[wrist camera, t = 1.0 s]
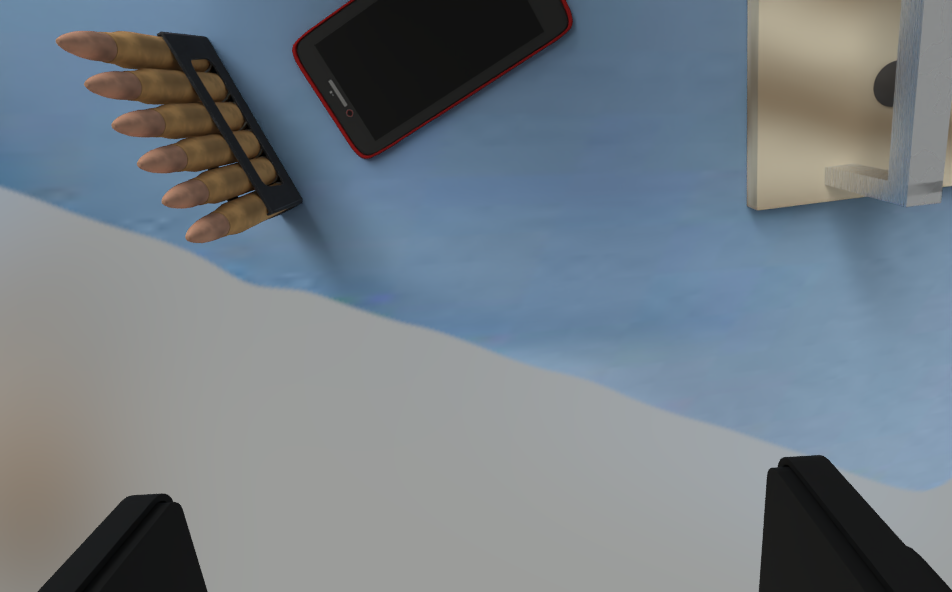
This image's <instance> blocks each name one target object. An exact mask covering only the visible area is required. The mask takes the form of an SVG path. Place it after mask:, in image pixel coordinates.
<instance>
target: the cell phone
mask: <svg viewBox="0 0 952 592" xmlns="http://www.w3.org/2000/svg"><path fill="white" fill-rule="evenodd" d="M563 6H564V7H563ZM572 24H573V19H572V14H571V11H570V9H569V6H568V4H567V2H566V0H350V1H349V2H347V3H346V4H345V5H343V6H342V7H340V8H339V9H338V10H336V11H335V12H333V13H332V14H331V15H329V16H328V17H326V18H325V19H324V20H322V21H321V22H319V23H318V24H317V25H315V26H314V27H312V28H311V29H310V30H308V31H307V32H306V33H305V34H303V35H302V36H301V37H300V38H299V39H298V40H297V41H296V42H295V43H294V45H293V48H292V52H293V56H294V59H295V61H296V63H297V65H298V66H299V68H300V70H301V71H302V73H303V74H304V76H305V77H306V79H307V81H308V82H309V84H310V85H311V87H312V88H313V90H314V91H315V93H316V94H317V96H318V97H319V99H320V101H321V102H322V104H323V105H324V107H325V108H326V110H327V111H328V113H329V114H330V116H331V117H332V119H333V120H334V122H335V124H336V125H337V127H338V128H339V130H340V131H341V133H342V134H343V136H344V137H345V139H346V140H347V142H348V144H349V145H350V146H351V148H352V149H353V150H354V152H355V153H356V154H357V155H358V156H360V157H361V158H364V159H368V158H372V157H374V156H376V155H378V154H380V153H382V152H384V151H385V150H387V149H389V148H390V147H392V146H393V145H395V144H397V143H398V142H399V141H401V140H402V139H404V138H405V137H407V136H409V135H410V134H412V133H413V132H415V131H416V130H418V129H419V128H421V127H423V126H424V125H426V124H427V123H429V122H430V121H432V120H434V119H435V118H437V117H439V116H441V115H442V114H444V113H445V112H447V111H448V110H450V109H451V108H453V107H454V106H456V105H458V104H459V103H461V102H462V101H464V100H465V99H467V98H468V97H470V96H472V95H473V94H475V93H476V92H478V91H479V90H481V89H482V88H484V87H485V86H487V85H489V84H490V83H492V82H493V81H495V80H496V79H498V78H499V77H501V76H502V75H504V74H506V73H507V72H509V71H510V70H512V69H513V68H515V67H516V66H518V65H519V64H521V63H523V62H524V61H526V60H527V59H529V58H530V57H532V56H533V55H535V54H537V53H538V52H540V51H541V50H543V49H544V48H546V47H547V46H549V45H550V44H552V43H554V42H555V41H557V40H558V39H559V38H561V37H562V36H563V35H564V34H566V33H567V32H568V31H569V30H570V28H571V27H572ZM309 33H310V34H309ZM305 36H306V37H305ZM304 37H305V38H304Z"/></svg>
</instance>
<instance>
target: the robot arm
mask: <svg viewBox="0 0 952 592" xmlns="http://www.w3.org/2000/svg"><path fill="white" fill-rule="evenodd" d="M765 499H766V500H765V513H764V528H763V541H762V556H761V570H760V584H759V592H952V590H951V589H950V588H949V587H948V585H947V584H946V583H945V582H944V581H943V580H942V579H941V578H940V577H939V576H938V574H937V573H936V572H935V571H934V570H933V569H932V568H931V567H930V566H929V565H928V563H927V562H926V561H925V560H924V559H923V558H922V557H921V556H920V555H919V554H918V553H917V552H915V551H914V550H913V549H912V548H910V547H908V546H906V545H905V544H904V543H903V542H902V541H901V540H900V539H899V538H898V536H897V535H896V534H895V533H894V532H893V531H892V530H891V529H890V528H889V526H888V525H887V524H886V523H885V522H884V521H883V520H882V519H881V518H880V517H879V515H878V514H877V513H876V512H875V511H874V510H873V509H872V508H871V506H870V505H869V504H868V503H867V502H866V501H865V500H864V499H863V498H862V496H861V495H860V494H859V493H858V492H857V491H856V490H855V489H854V488H853V486H852V485H851V484H850V483H849V482H848V481H847V480H846V479H845V478H844V476H843V475H842V474H841V473H840V472H839V471H838V470H837V469H836V467H835V466H834V465H833V464H832V463H831V462H830V461H829V460H828V459H827V458H826V457H824V456H821V455H814V456H797V457H784V458H782V459H780V461H779V463H778V467H777V468H770V469H769V471H768V474H767V485H766V498H765ZM38 592H207V589H206V585H205V582H204V579H203V575H202V572H201V569H200V565H199V562H198V559H197V555H196V552H195V549H194V546H193V542H192V539H191V535H190V532H189V529H188V526H187V522H186V519H185V516H184V512H183V509H182V507H181V505H180V504H179V503H176V502H173V500H172V498H171V497H170V496H168V495H167V494H147V495H132V496H128V497H126V498H125V499H124V500H122V501H121V502H120V503H119V505H118V506H117V507H116V508H115V509H114V510H113V511H112V512H111V513H110V514H109V515H108V516H107V517H106V519H105V520H104V521H103V522H102V523H101V524H100V525H99V526H98V527H97V528H96V529H95V530H94V531H93V533H92V534H91V535H90V536H89V537H88V538H87V539H86V540H85V541H84V542H83V543H82V544H81V546H80V547H79V548H78V549H77V550H76V551H75V552H74V553H73V554H72V555H71V556H70V557H69V559H67V561H66V562H65V563H64V564H63V565H62V566H61V567H60V568H59V569H58V570H57V572H55V574H54V575H53V576H52V577H51V578H50V579H49V580H48V581H47V582H46V583H45V584H44V585H43V587H41V589H40V590H39V591H38Z"/></svg>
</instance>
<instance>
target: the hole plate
mask: <svg viewBox="0 0 952 592" xmlns="http://www.w3.org/2000/svg"><path fill="white" fill-rule="evenodd" d="M900 14H901V0H748V34H747V206H748V207H750V208H753V209H755V210H765V209H772V208H780V207H788V206H796V205H804V204H812V203H820V202H828V201H836V200H844V199H852V198H860V197H868V196H864V195H860V194H857V193H853V192H849V191H846V190H842V189H838V188H835V187H831V186H827V185H825V167H830V166H838V165H845V164H858V165H863V166H869V167H874V168H879V169H884V170H889V158H890V144H891V131H892V118H893V105H894V92H895V79H896V66H897V53H898V40H899V27H900ZM947 186H952V101H951V111H950V120H949V130H948V139H947V149H946V159H945V168H944V178H943V187H947Z"/></svg>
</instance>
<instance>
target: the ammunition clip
mask: <svg viewBox="0 0 952 592" xmlns="http://www.w3.org/2000/svg"><path fill="white" fill-rule="evenodd" d="M56 43H57V44H58V45H59V46H60V47H61V48H62V49H64V50H65V51H67V52H69V53H71V54H74V55H76V56H79V57H81V58H85V59H89V60H94V61H102V62H105V63H111V64H115V65H118V66H120V67H123V68H128V69H138V70H135V71H123V72H120V71H112V72H104V73H100V74H97V75H94V76H92V77H90V78H88V79H87V80H86V81H85V83H84V85H85V87H86V88H87V89H88V90H90V91H91V92H93V93H96V94H98V95H101V96H103V97H107V98H112V99H119V100H131V101H139V102H142V103H145V104H164V105H161V106H159V107H156V108H150V109H146V110H137V111H133V112H129V113H126V114H124V115H121V116H120V117H118V118H116V119H115V120H114V121H113V123H112V128H113V129H114V130H116V131H117V132H119V133H122V134H125V135H128V136H133V137H164V138H168V139H180V138H185V139H182V140H180V141H178V142H177V143H174V144H170V145H167V146H163V147H159V148H156V149H154V150H151V151H149V152H147V153H146V154H144V155H143V156H142V157H141V158H140V159H139V160H138V162H137V166H138V167H139V168H140V169H142V170H145V171H148V172H152V173H172V172H181V171H191V172H197V171H201V170H206V169H208V171H205V172H202V173H201V174H200V175H198V176H197V177H195V178H193V179H190V180H188V181H186V182H183V183H180V184H178V185H176V186H174V187H173V188H171V189H170V190H169V191H168V192H167V193H166V194H165V195H164V196H163V198H162V204H163V205H165V206H167V207H170V208H190V207H194V206H197V205H203V204H207V203H213V204H215V203H219V202H222V201H225V200H227V201H228V202H226V203H224V204H222V205H221V206H220V207H218V208H217V209H216V210H215V211H213V212H211V213H210V214H208V215H206V216H204V217H202V218H201V219H199V220H198V221H196V222H195V223H194V224H193V225H192V226H191V227H190V228H189V229H188V231H187V233H186V240H187V241H189V242H193V243H205V242H210V241H213V240H216V239H219V238H221V237H225V236H227V235H233V234H238V233H241V232H243V231H245V230H247V229H249V228H251V227H253V226H255V225H257V224H259V223H261V222H263V221H265V220H267V219H270V218H273V217H275V216H278V215H280V214H282V213H284V212H286V211H288V210H290V209H292V208H294V207H296V206H297V205H299V204H301V203H302V197H301V196H300V194H299V192H298V191H297V189H296V187H295V186H294V184H293V182H292V180H291V179H290V177H289V175H288V174H287V172H286V170H285V169H284V167H283V165H282V164H281V162H280V160H279V158H278V157H277V155H276V153H275V152H274V150H273V148H272V147H271V145H270V143H269V141H268V140H267V138H266V136H265V135H264V133H263V131H262V130H261V128H260V126H259V124H258V123H257V121H256V119H255V118H254V116H253V114H252V113H251V111H250V109H249V107H248V106H247V104H246V102H245V101H244V99H243V97H242V96H241V94H240V92H239V91H238V89H237V87H236V85H235V84H234V82H233V80H232V79H231V77H230V75H229V74H228V72H227V70H226V68H225V67H224V65H223V63H222V62H221V60H220V58H219V57H218V55H217V53H216V51H215V50H214V48H213V46H212V45H211V43H210V41H209V40H208V38H207V37H204V36H196V35H187V34H178V33H169V32H160V33H158V34H157V36H152V35H145V34H139V33H133V32H126V31H116V32H111V33H109V32H94V31H75V32H70V33H66V34H63V35H61V36H59V37H58V38H57V39H56ZM235 162H238V163H235ZM231 163H235V164H231ZM227 164H231V165H227ZM223 165H227V166H223ZM218 166H223V167H220V168H219V167H218ZM253 190H255V191H254V192H251V193H249V194H246V195H244V196H241V197H238V196H239V195H242V194H244V193H247V192H250V191H253Z"/></svg>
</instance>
